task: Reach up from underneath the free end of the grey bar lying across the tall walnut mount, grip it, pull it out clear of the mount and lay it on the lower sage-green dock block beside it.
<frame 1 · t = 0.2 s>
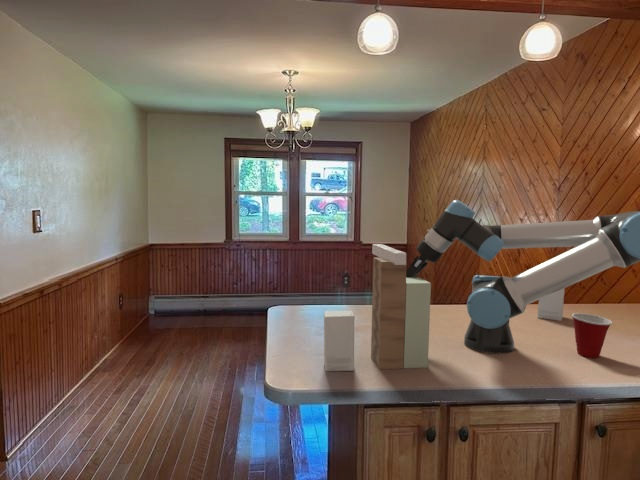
hand: (392, 298, 145), 15 cm above the countertop, tool tilted 35°, fingers open, 12 cm apart
skincare box: (338, 368, 125), on the countertop
supplement box: (550, 317, 184), on the countertop
plastic cup: (589, 355, 139), on the countertop
walnut mount: (386, 362, 129), on the countertop
sage dock: (410, 361, 130), on the countertop
grey bar: (387, 258, 129), point 30 cm above the countertop, touching walnut mount
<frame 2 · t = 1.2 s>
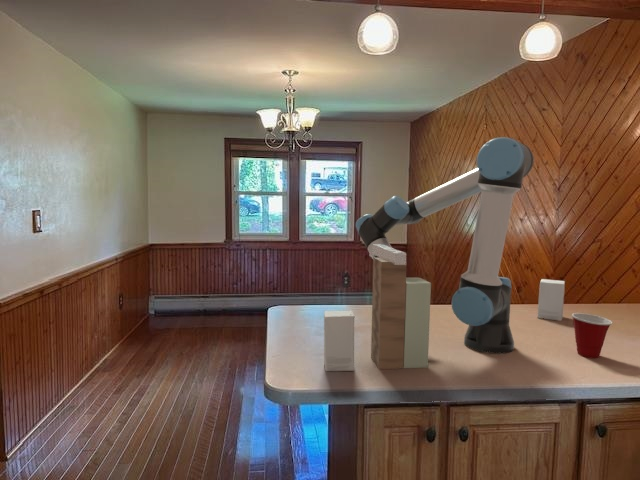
hand: (415, 313, 138), 12 cm above the countertop, tool tilted 45°, fingers open, 8 cm apart
nothing on the countertop moved.
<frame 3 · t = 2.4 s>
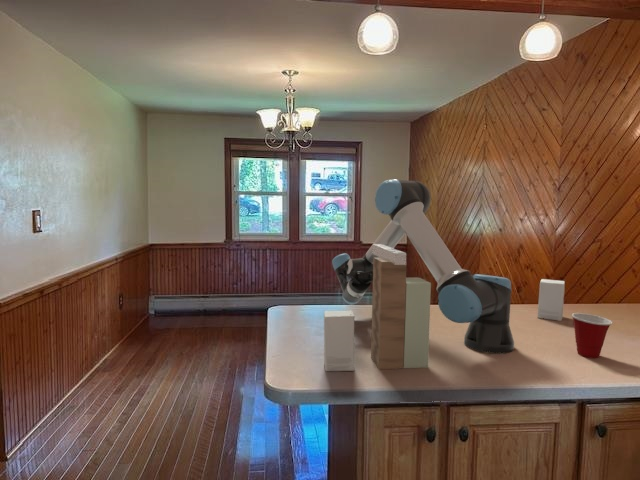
hand: (371, 262, 147), 26 cm above the countertop, tool pointing upward, fingers open, 13 cm apart
nothing on the countertop moved.
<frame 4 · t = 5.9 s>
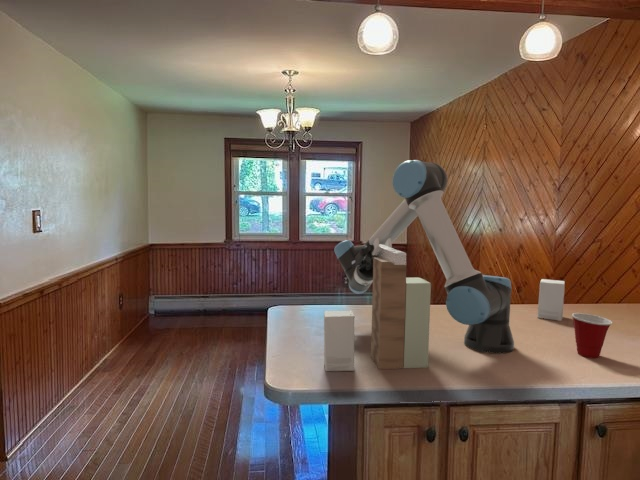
hand: (383, 242, 133), 34 cm above the countertop, tool pointing upward, fingers closed on grey bar, 3 cm apart
grey bar: (387, 258, 129), point 30 cm above the countertop, touching gripper, walnut mount
everything else where it was.
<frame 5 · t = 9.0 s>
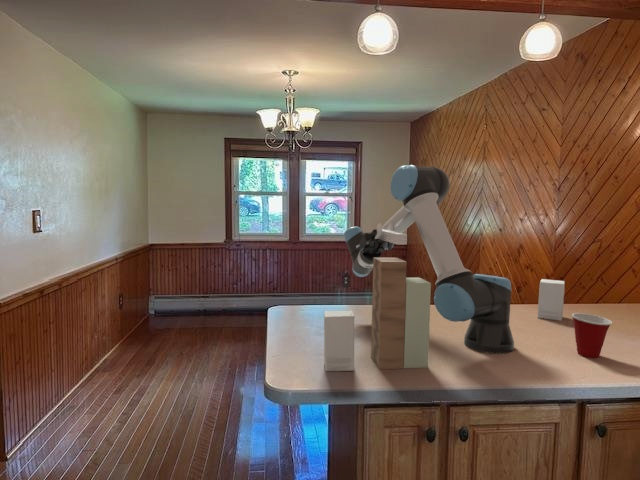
hand: (386, 226, 148), 38 cm above the countertop, tool pointing upward, fingers closed on grey bar, 3 cm apart
grey bar: (389, 240, 144), point 34 cm above the countertop, touching gripper
everything else where it was.
when the fingers open (29 cm above the countertop, at t = 12.3 s): grey bar stays where it is, resting on sage dock.
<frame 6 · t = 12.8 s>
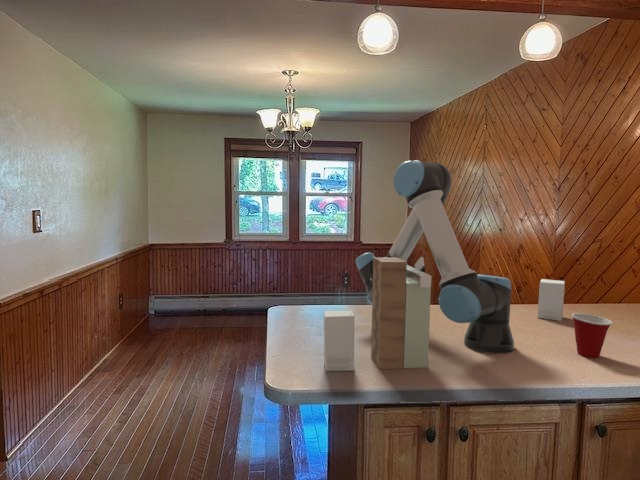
hand: (404, 261, 135), 28 cm above the countertop, tool pointing upward, fingers open, 11 cm apart
grey bar: (410, 279, 130), point 24 cm above the countertop, touching sage dock
everything else where it was.
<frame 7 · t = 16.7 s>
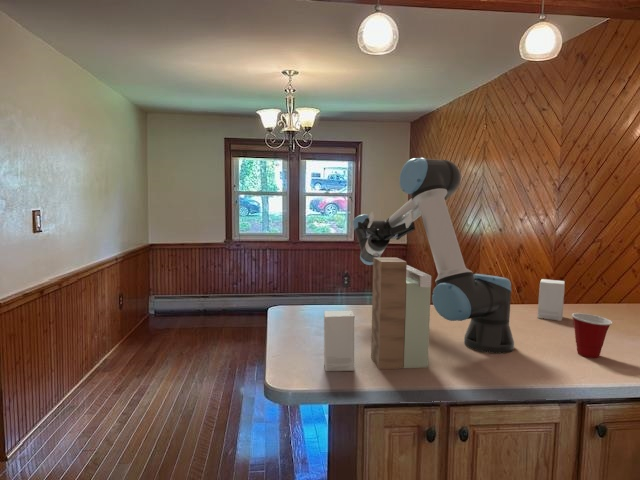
hand: (392, 215, 149), 42 cm above the countertop, tool pointing upward, fingers open, 13 cm apart
nothing on the countertop moved.
at the end: grey bar inside the target area on the sage dock (0.1 cm from its centre), point 24.0 cm above the sage dock's base; grey bar touching sage dock; the gripper is holding nothing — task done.
